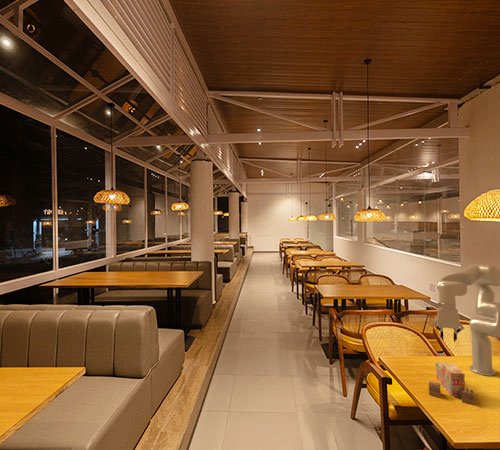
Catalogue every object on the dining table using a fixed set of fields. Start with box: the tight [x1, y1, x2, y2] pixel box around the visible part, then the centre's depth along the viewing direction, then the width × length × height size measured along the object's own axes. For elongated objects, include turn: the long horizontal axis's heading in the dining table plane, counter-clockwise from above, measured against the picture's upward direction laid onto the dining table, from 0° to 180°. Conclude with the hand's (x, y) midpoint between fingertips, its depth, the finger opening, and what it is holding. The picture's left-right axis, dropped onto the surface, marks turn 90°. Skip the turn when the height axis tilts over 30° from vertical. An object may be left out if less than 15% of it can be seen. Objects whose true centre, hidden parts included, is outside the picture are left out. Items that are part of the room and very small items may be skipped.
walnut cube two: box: [460, 387, 475, 406], centre depth 157 cm, size 5×5×5 cm
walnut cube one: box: [428, 381, 441, 398], centre depth 164 cm, size 5×5×5 cm
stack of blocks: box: [435, 361, 466, 398], centre depth 171 cm, size 21×6×12 cm, turn 168°
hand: (448, 339), depth 171 cm, fingers open, 4 cm apart
